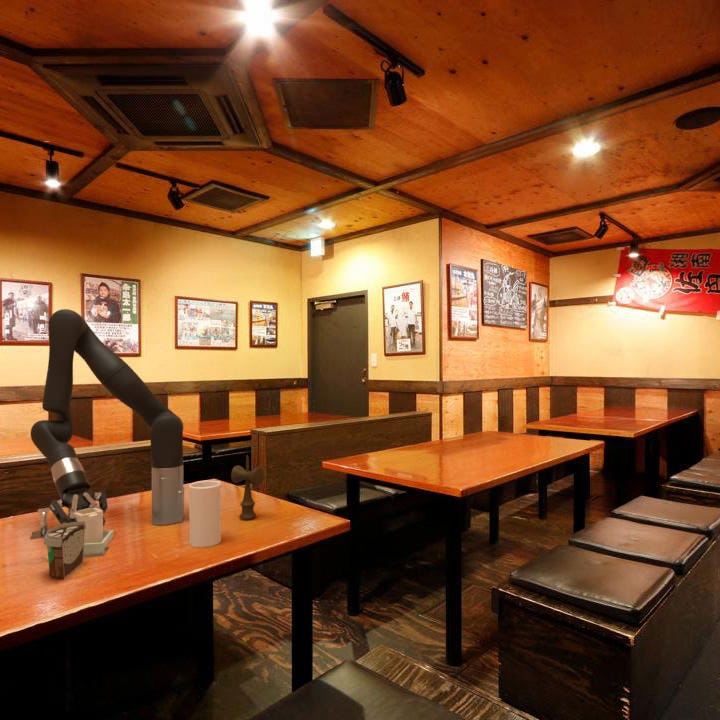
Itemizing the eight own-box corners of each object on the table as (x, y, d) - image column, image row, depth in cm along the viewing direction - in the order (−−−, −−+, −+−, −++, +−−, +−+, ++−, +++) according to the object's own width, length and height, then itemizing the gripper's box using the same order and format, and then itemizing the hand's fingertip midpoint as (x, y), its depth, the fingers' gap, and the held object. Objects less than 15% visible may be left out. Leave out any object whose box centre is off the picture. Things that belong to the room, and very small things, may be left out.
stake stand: (65, 532, 147) (64, 503, 147) (64, 539, 140) (64, 509, 140) (32, 537, 143) (32, 507, 143) (29, 545, 137) (29, 513, 137)
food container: (60, 561, 125) (60, 521, 125) (85, 560, 126) (85, 520, 126) (32, 583, 113) (32, 538, 113) (60, 582, 113) (60, 537, 113)
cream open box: (93, 536, 137) (93, 506, 137) (105, 541, 133) (105, 511, 133) (71, 542, 132) (71, 511, 132) (83, 548, 128) (83, 516, 128)
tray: (113, 541, 139) (113, 529, 139) (103, 555, 129) (103, 543, 129) (72, 544, 137) (72, 532, 137) (58, 559, 127) (58, 546, 127)
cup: (192, 549, 133) (192, 488, 133) (187, 539, 140) (187, 482, 140) (223, 544, 137) (223, 485, 137) (217, 535, 144) (217, 479, 144)
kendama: (254, 523, 154) (254, 458, 155) (229, 519, 158) (229, 455, 159) (265, 517, 160) (265, 454, 160) (241, 513, 164) (241, 452, 164)
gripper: (45, 474, 132) (65, 529, 124) (101, 465, 143) (122, 515, 136) (37, 491, 135) (56, 546, 128) (92, 481, 146) (112, 530, 139)
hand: (90, 529), depth 132 cm, fingers closed on cream open box, 5 cm apart
